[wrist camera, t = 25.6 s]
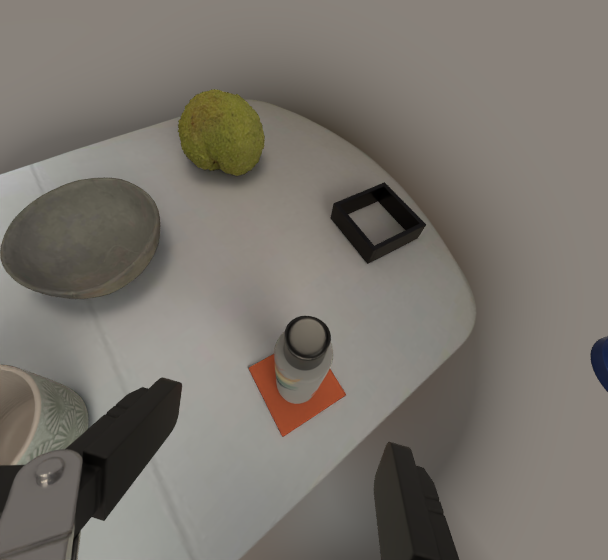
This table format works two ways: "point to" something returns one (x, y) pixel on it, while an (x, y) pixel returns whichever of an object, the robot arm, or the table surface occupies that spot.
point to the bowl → (82, 239)
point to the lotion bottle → (302, 358)
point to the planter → (36, 416)
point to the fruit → (221, 132)
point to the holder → (392, 205)
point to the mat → (290, 413)
